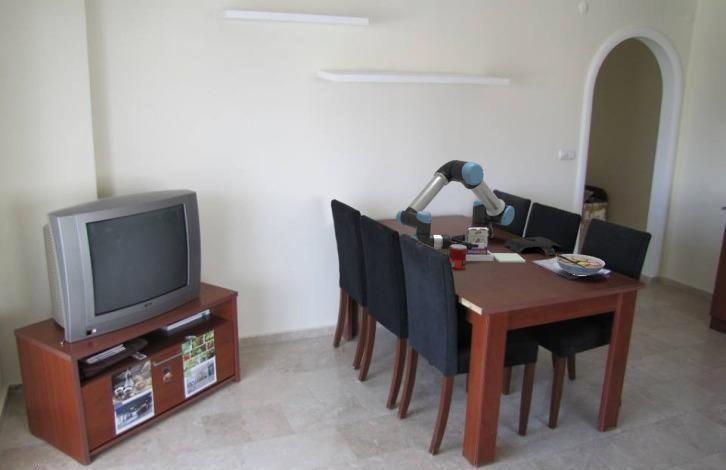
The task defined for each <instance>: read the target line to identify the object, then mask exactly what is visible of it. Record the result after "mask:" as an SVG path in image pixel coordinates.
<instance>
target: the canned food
mask: <svg viewBox="0 0 726 470" xmlns="http://www.w3.org/2000/svg"><path fill="white" fill-rule="evenodd" d="M449 250H450V251H449V259H450V258H451V262H452V266H453V269H452V270H464V269H465V268H466V263H467V261H466V251H467V247H466V246H464V245H460V244H454V245H450V246H449Z"/></svg>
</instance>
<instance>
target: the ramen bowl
mask: <svg viewBox="0 0 726 470" xmlns="http://www.w3.org/2000/svg"><path fill="white" fill-rule="evenodd" d="M551 254H553V255H552V256H554V257H555V260H556V262H557V264H558V265H559V267H560V268H561V270H563V271H565V272H566V273H568V274H570V273H571V274H575V275H588V276H591V275H592V276H593V275H595V274H597V273H598V272H600V271H601V270H602V269H603V268H605V266H606V263H605V261H604V260H602V259H601V258H599V257H598V258H597V257H595V256H591V255H584V254H576V253H566V254H565V253H564V254H559V253H557V252H556V251H555V252H554V253H551ZM571 274H570V275H571Z"/></svg>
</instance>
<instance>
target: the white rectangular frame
mask: <svg viewBox="0 0 726 470" xmlns="http://www.w3.org/2000/svg"><path fill="white" fill-rule="evenodd" d="M492 253H493V252H490V250H489V249H487V255H466V262H477V261H478V262H493V261H494V259H495V258H494V255H493V254H492Z"/></svg>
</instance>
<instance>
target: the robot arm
mask: <svg viewBox="0 0 726 470" xmlns="http://www.w3.org/2000/svg"><path fill="white" fill-rule="evenodd" d="M451 182H456V183H461V184H462V186H463V187H465V189H466V190H471V192H472V193H473V194H474V195H475V197H476V198H477V199H475V200H474V201H473V205H472V214H471V215H472V218H471V224H470V227H486V228H488V229H489V235H488V240H491V239H493V238H494V232H493V227H492V223H493V224H497V225H501V226H509V225H510V224H511V223H512V222H513V220H514V218H515V208H514V207H513V206H511V205H507V204H506V202H505V201H504V200H503V199H501V198H498V197H497V195H496V194H495V193H494V192H493V190H492V189H491V188H490V187H489V186H488V184H487V183H486V182H485V180H484V169H483V167H482V166H481V164H479V163H477V162H474V161H465V160H458V159H454V160H449V161H447V162H445V163H444V164H443V165H441V166H440V167H439V168H438V169H437V170H436V171H435V172H434V173H433V177H432V178H431V180H430V181H428V183H427V184H426V185H425V186H424V188H423V189H422V190H421V191H420V193H418V195H417V196H416V197H415V198H414V199H413V201H412V202H411V203H410V204H409V205H408V207H406V209H405V210H399V211H397V213H396V217H395V220H396V222H397V224H400V225H402V226H406V227H410V228H413V229H415V234H412V235H411V238H412V237H413V238H415V239H417V240H419V241H421V242H422V243H424V244H427V245H429V246H431V247H433V248H435V249H436V250H448V249H450V247H451V245H454V244H460V245H464V246H466V247H467V249H470V250H472V248H484V245H485V243H466V234H461V235H455V236H454V235H452V236H449V234H431V230H432V228H431V227H432V213H431V212H429V211H425V209H426V208H427V207H428V205H429V204H430V203H431V202H432V201H433V200H434V199H435V198H436V196H437V195H438V193H439V192H440V191H441V190H442V189H443V188H444V187H445V186H448V185H449V184H450V183H451ZM469 246H470V247H469Z"/></svg>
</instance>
